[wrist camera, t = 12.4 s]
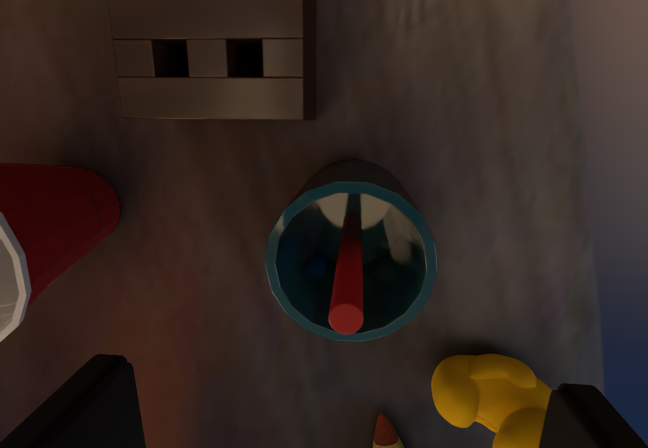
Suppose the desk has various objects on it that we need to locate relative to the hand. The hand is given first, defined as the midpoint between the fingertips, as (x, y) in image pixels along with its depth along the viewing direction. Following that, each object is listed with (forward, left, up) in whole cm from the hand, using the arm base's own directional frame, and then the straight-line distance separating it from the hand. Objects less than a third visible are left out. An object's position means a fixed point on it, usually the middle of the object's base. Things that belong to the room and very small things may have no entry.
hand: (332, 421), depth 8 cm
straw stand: (-12, -8, -20) cm, 25 cm away
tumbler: (0, 0, -20) cm, 20 cm away
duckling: (+13, +12, -20) cm, 27 cm away
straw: (+1, 0, -20) cm, 20 cm away
